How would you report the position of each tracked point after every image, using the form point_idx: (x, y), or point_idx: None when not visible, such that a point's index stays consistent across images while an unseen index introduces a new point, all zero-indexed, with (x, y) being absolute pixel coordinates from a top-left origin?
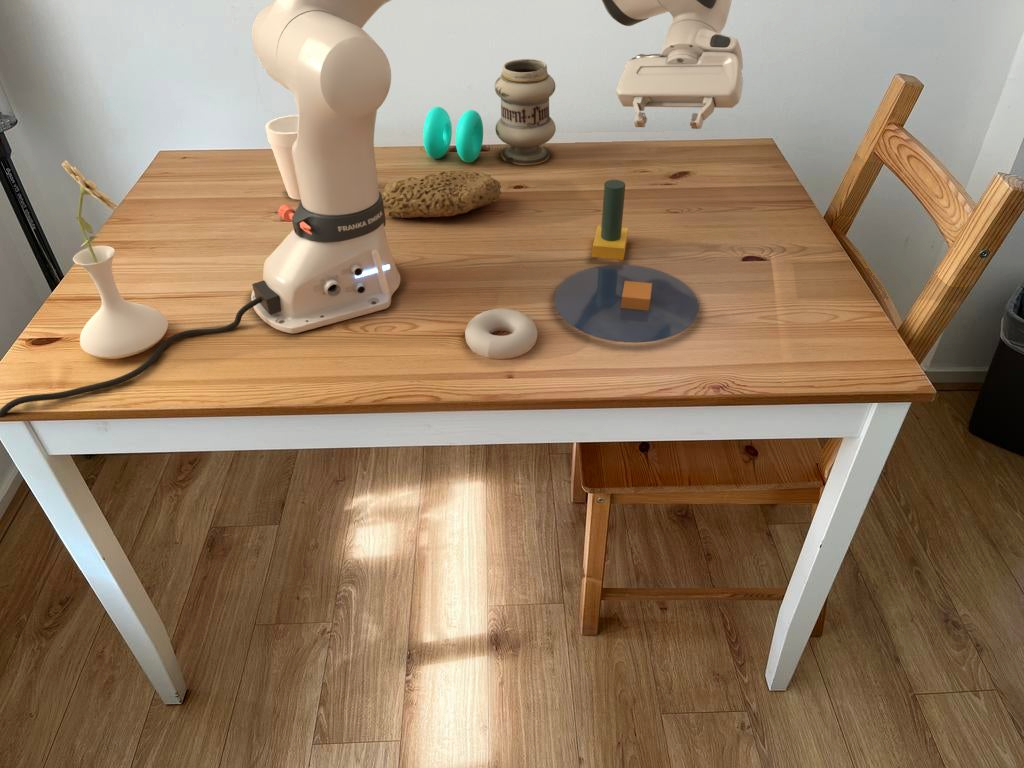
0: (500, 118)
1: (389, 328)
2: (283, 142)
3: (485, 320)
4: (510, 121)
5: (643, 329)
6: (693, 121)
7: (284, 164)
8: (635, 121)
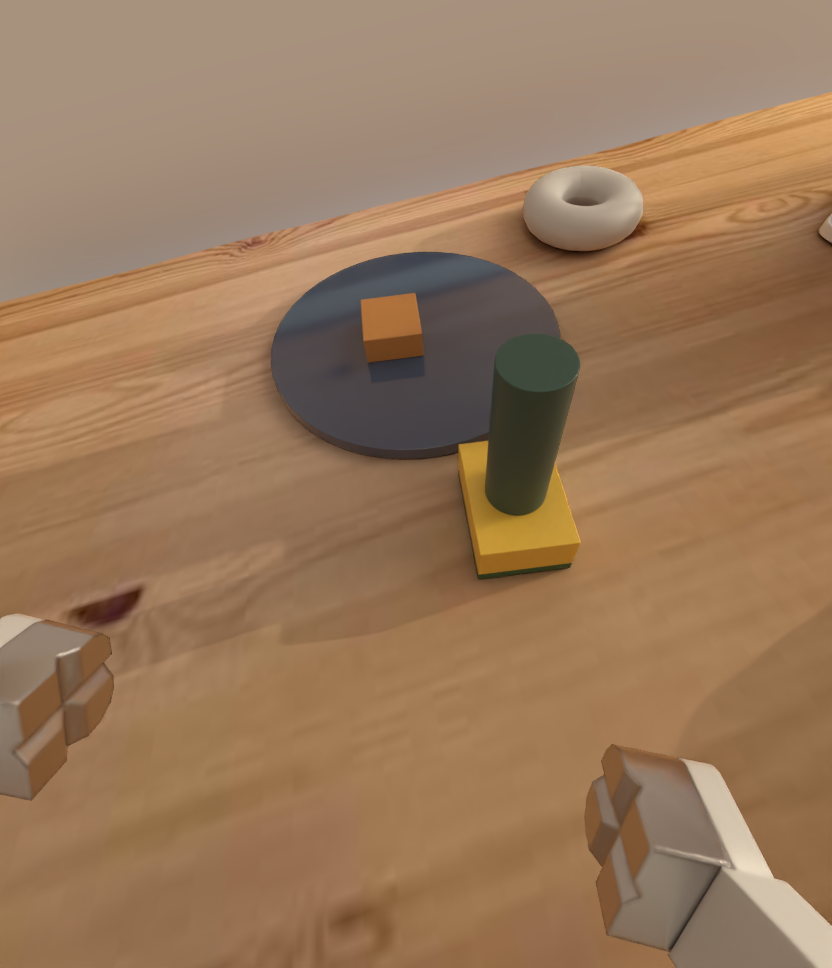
0: None
1: (766, 207)
2: None
3: (616, 191)
4: None
5: (366, 282)
6: (64, 630)
7: None
8: (691, 761)
